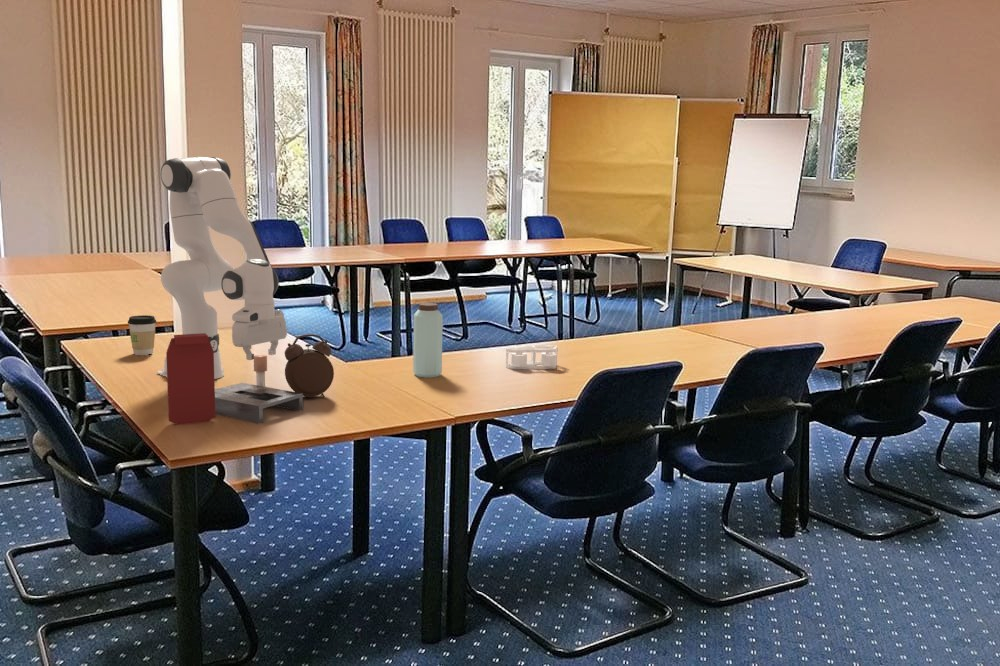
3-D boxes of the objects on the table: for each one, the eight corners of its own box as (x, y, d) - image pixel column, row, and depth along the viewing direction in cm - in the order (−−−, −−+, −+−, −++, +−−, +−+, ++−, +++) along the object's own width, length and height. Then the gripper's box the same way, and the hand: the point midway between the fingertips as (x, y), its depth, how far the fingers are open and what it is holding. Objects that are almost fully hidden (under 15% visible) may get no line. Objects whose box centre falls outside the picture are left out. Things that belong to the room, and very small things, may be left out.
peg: (249, 396, 286) (248, 356, 284) (260, 393, 290) (260, 354, 288) (261, 398, 284) (260, 358, 282) (272, 395, 288) (271, 355, 286)
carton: (171, 429, 248) (168, 337, 244) (168, 424, 253) (165, 334, 248) (217, 424, 254) (215, 335, 250) (214, 420, 258) (212, 332, 254)
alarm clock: (329, 393, 292) (328, 331, 289) (335, 399, 286) (334, 335, 282) (282, 397, 286) (281, 333, 283) (287, 402, 280) (286, 337, 276)
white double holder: (508, 371, 333) (508, 351, 331) (502, 364, 343) (503, 345, 342) (562, 370, 336) (563, 350, 335) (555, 364, 347) (556, 345, 346)
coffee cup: (136, 354, 343) (134, 314, 340) (162, 355, 343) (160, 315, 340) (124, 360, 333) (122, 318, 331) (151, 360, 333) (149, 319, 330)
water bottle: (439, 379, 316) (441, 306, 312) (410, 378, 317) (411, 305, 313) (443, 372, 326) (444, 302, 322) (415, 371, 327) (416, 301, 322)
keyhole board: (259, 423, 256) (258, 406, 255) (196, 410, 268) (196, 394, 267) (302, 410, 272) (302, 393, 271) (242, 398, 283) (241, 382, 282)
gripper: (275, 308, 293) (277, 351, 295) (227, 315, 275) (229, 361, 278) (290, 309, 290) (292, 352, 292) (243, 317, 272) (245, 363, 275)
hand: (261, 357), depth 285 cm, fingers open, 8 cm apart
